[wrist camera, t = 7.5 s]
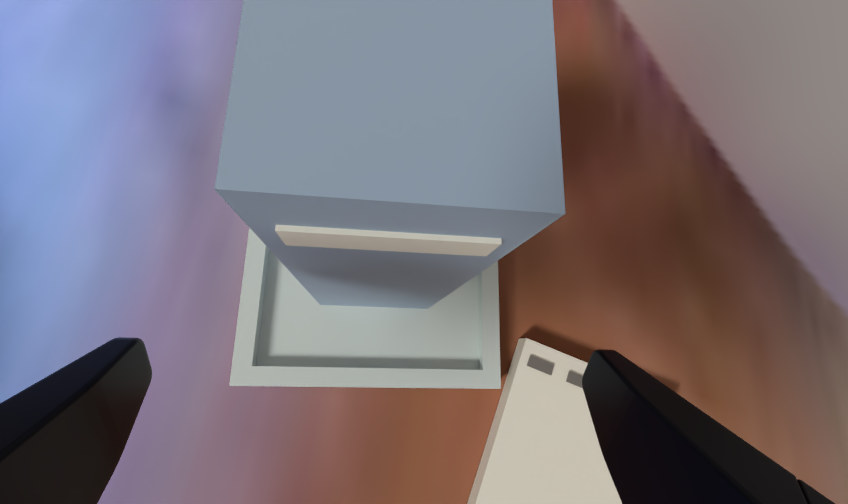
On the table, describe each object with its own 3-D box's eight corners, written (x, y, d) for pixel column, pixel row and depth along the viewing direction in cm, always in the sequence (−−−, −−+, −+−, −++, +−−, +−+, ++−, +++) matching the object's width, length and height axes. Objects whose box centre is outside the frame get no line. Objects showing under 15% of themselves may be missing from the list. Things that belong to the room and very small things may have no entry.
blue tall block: (427, 311, 20) (565, 220, 6) (319, 307, 19) (213, 196, 6) (429, 218, 21) (550, -28, 7) (327, 212, 20) (254, -73, 7)
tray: (492, 386, 20) (500, 388, 19) (237, 383, 18) (229, 385, 17) (488, 163, 23) (495, 152, 21) (267, 144, 21) (261, 132, 20)
